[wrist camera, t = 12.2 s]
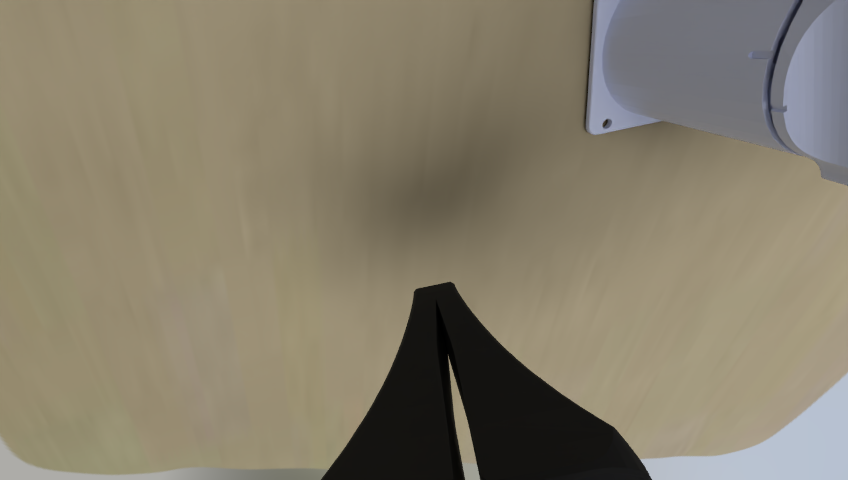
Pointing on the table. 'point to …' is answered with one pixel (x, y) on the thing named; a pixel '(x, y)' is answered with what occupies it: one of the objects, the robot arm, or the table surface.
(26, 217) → the table surface
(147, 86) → the table surface
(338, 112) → the table surface
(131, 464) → the table surface
